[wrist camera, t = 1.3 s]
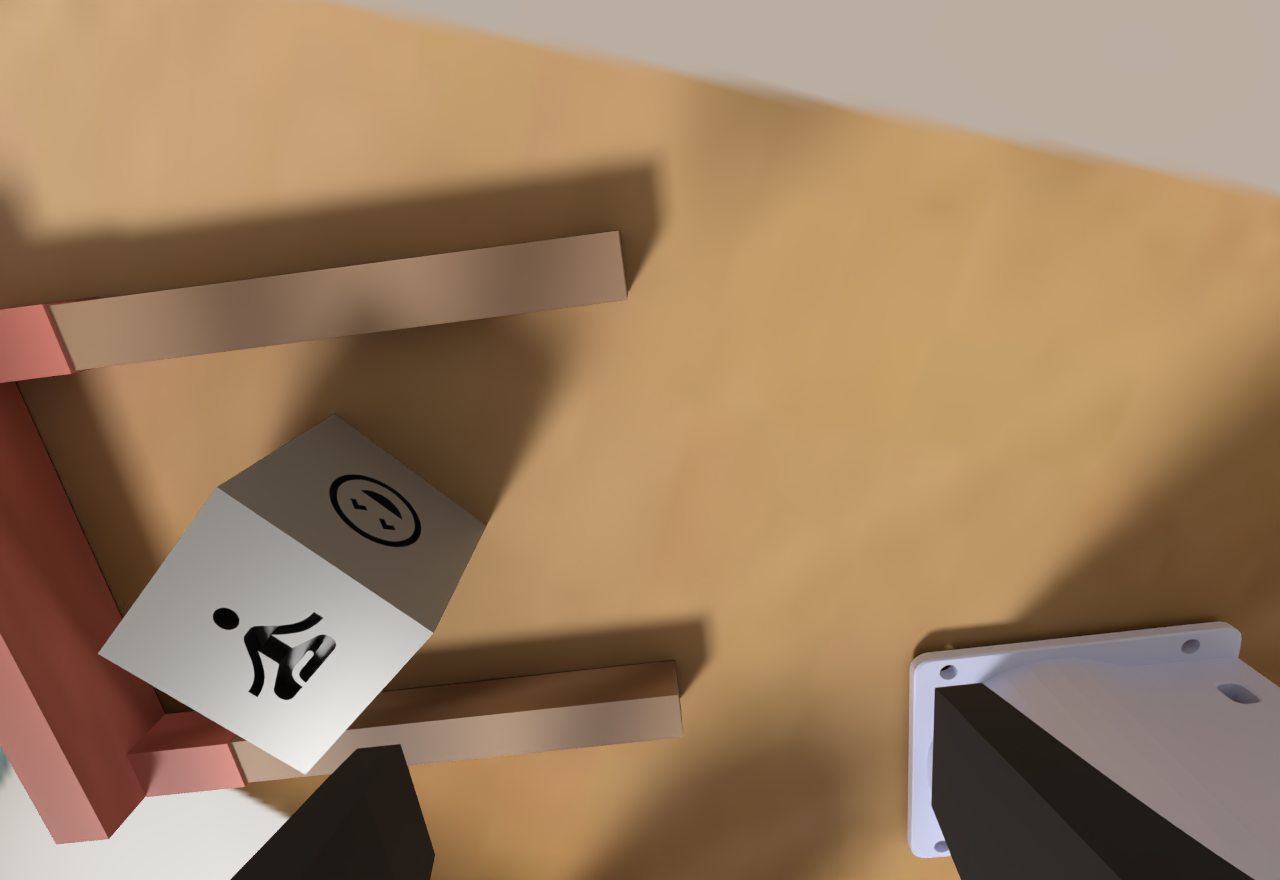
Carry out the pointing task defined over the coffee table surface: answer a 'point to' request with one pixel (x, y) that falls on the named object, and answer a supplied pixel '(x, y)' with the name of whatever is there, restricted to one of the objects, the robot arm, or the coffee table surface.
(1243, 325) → the coffee table surface
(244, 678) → the dice cube
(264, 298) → the guide channel
